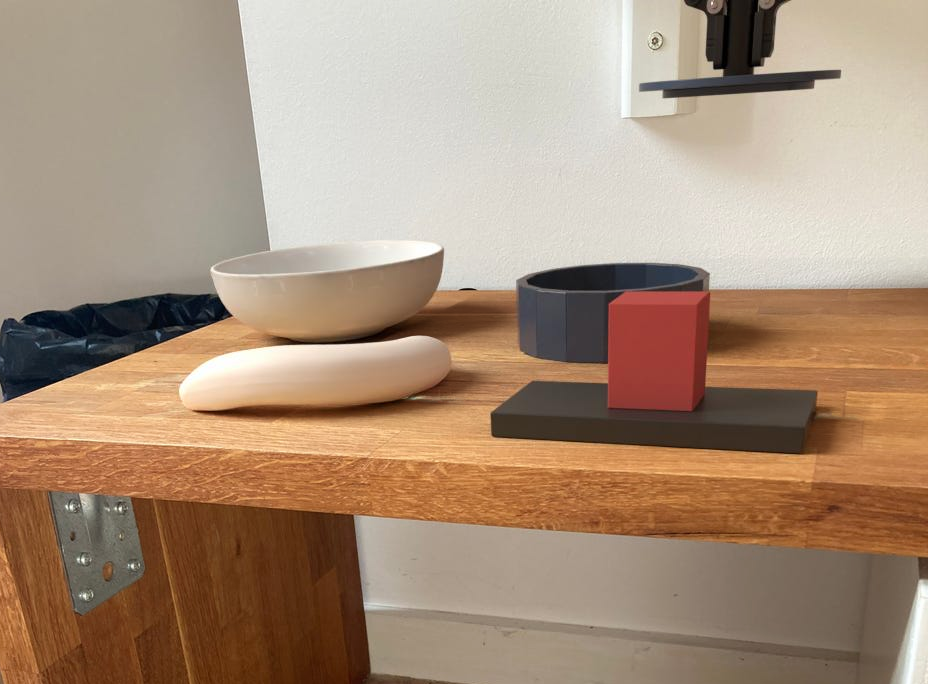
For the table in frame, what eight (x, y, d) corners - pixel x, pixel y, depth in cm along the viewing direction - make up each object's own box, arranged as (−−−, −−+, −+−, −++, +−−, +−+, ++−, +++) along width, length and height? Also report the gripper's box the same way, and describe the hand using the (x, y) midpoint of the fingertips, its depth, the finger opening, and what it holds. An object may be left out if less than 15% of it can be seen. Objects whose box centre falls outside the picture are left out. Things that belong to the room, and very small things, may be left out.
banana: (163, 427, 69) (217, 376, 82) (446, 426, 68) (455, 376, 81) (152, 352, 66) (209, 313, 79) (445, 351, 65) (455, 312, 78)
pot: (718, 331, 85) (722, 261, 83) (684, 372, 73) (688, 292, 71) (550, 329, 91) (549, 263, 88) (493, 366, 79) (490, 292, 76)
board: (815, 414, 62) (818, 390, 61) (802, 454, 56) (805, 427, 55) (532, 402, 69) (531, 380, 68) (490, 436, 62) (489, 412, 61)
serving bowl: (300, 310, 108) (292, 240, 104) (483, 314, 99) (480, 238, 96) (174, 353, 91) (159, 271, 88) (380, 362, 83) (373, 272, 79)
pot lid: (846, 86, 86) (856, -8, 83) (831, 87, 74) (842, -23, 70) (661, 98, 92) (664, 11, 89) (617, 101, 79) (619, 0, 76)
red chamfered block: (705, 394, 62) (710, 291, 59) (692, 412, 59) (698, 303, 56) (623, 391, 64) (625, 291, 61) (607, 408, 61) (608, 303, 58)
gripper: (648, -201, 73) (641, 74, 81) (855, -237, 68) (826, 60, 76) (670, -180, 80) (662, 74, 87) (862, -212, 74) (834, 62, 82)
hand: (738, 66), depth 82 cm, fingers closed on pot lid, 2 cm apart
